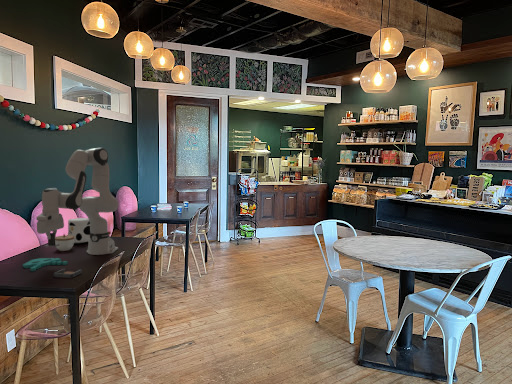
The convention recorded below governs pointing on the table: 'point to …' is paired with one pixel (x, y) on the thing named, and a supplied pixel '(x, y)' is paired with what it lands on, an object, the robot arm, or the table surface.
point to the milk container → (79, 230)
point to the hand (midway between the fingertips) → (51, 238)
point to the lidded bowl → (64, 242)
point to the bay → (64, 275)
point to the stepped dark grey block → (51, 241)
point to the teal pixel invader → (43, 263)
